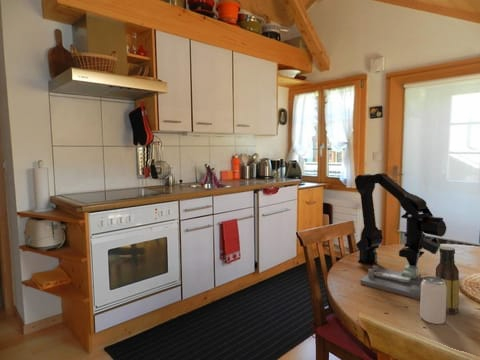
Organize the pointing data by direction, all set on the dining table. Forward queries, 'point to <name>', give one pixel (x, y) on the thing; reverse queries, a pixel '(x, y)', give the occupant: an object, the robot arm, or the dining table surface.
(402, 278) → the strap
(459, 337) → the dining table surface
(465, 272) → the dining table surface
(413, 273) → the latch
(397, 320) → the dining table surface
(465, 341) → the dining table surface
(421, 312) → the can
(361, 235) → the robot arm
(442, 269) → the sauce bottle
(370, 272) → the board
